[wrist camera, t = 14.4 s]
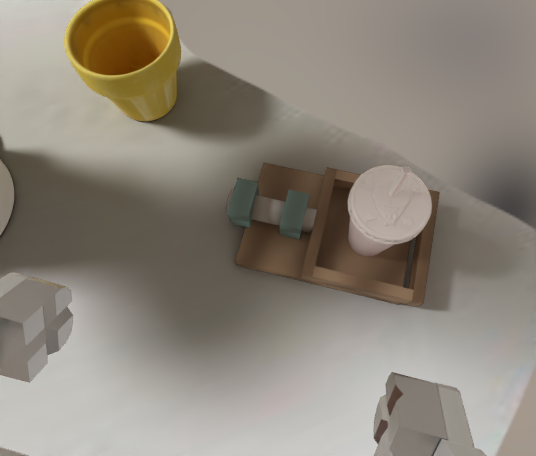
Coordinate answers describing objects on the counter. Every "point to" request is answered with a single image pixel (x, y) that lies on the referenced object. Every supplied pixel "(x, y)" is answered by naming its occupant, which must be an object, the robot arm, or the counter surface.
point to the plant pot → (127, 54)
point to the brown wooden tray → (321, 235)
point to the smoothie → (386, 209)
